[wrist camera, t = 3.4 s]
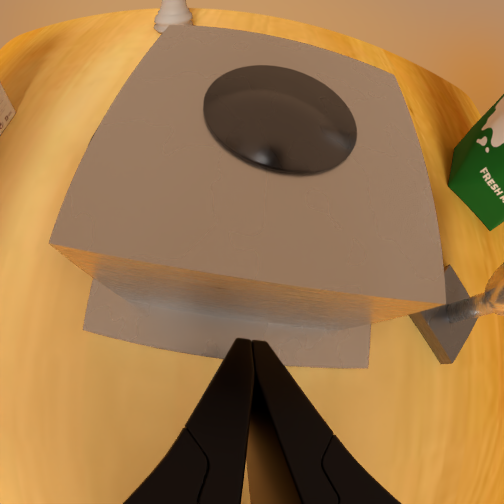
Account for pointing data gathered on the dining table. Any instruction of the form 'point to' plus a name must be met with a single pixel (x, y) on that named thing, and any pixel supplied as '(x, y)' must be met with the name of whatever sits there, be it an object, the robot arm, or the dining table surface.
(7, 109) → the supplement box
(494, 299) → the rubber stamp
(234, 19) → the dining table surface
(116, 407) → the dining table surface
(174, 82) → the cover
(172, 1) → the rook chess piece
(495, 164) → the milk carton
